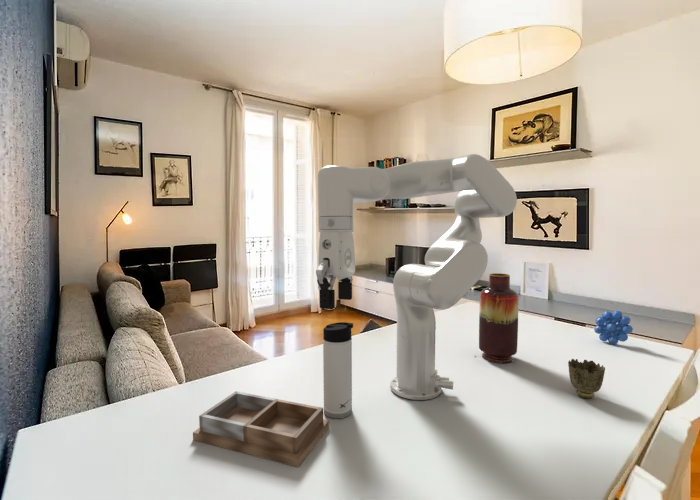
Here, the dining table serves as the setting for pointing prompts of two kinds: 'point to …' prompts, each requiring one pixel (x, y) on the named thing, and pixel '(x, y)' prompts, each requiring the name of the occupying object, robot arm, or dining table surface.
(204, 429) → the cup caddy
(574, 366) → the cup
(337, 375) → the travel mug
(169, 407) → the dining table surface
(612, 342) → the grapes
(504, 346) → the vase
